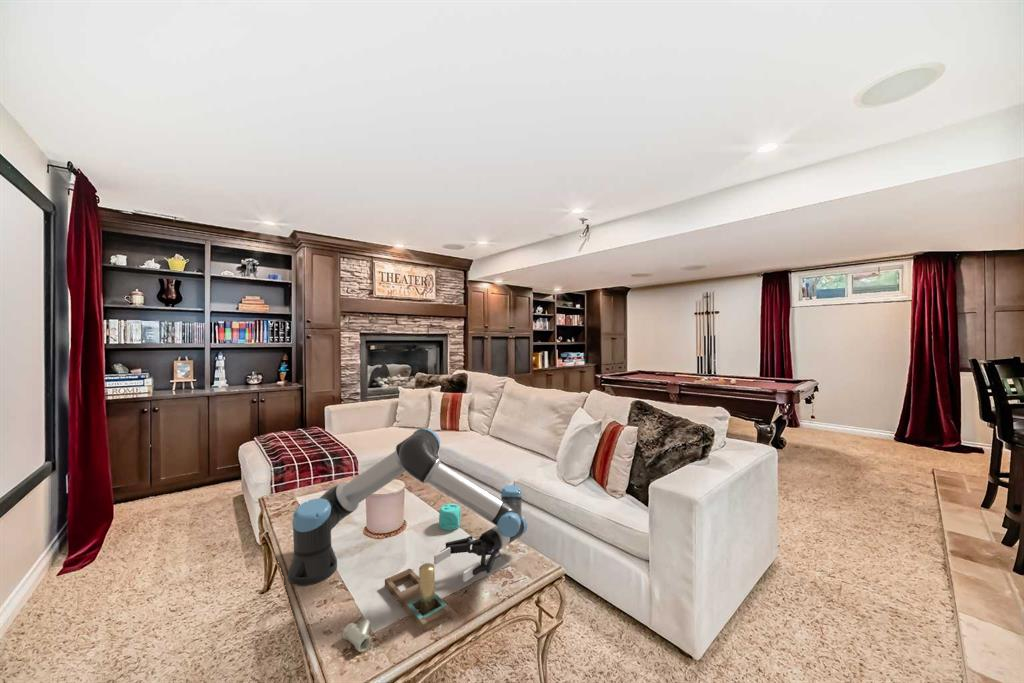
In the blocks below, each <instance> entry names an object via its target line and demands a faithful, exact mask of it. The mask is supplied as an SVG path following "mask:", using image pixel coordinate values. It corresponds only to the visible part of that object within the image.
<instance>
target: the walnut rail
mask: <svg viewBox="0 0 1024 683" xmlns="http://www.w3.org/2000/svg"><path fill="white" fill-rule="evenodd" d="M409 582H411V583H412V584H413V586H410V587H408V588H406V589H403V590H402V591H401V590H400V589H399V588H398V587H400V586H402V585H404V584H407V583H409ZM384 588H385V589H386V590H387V591H388V592H389V594H390V595H391V596H392V597H393V598H394V600H395V601H396V602H397V603H398V604H399V606H400V607H401V608H402V609H403V611H404V612H405V613H406V614H407V615H408V617H409V618H410V619H411V620H412V621H413V622H414V624H415V625H416V626H417V627H418V628H419V630H420V631H421V633H423V634H424V633H426V632H427V631H429V630H431V629H433V628H435V627H437V626H438V625H440V624H442V623H444V622H445V621H447V620H449V619H451V618H452V609H451V608H450V607H449V606H448V605H447V603H446V602H445V601H443V599H442V598H441V597H440V596H439V595H437V593H436V592H435V610H433V611H431V612H429V613H427V614H425V615H423V616H422V615H421V614H420V591H419V575H417V573H416V572H415V571H413V570H412V568H407V569H404V570H403V571H400V572H398V573H396V574H394V575H393V574H392V576H389V577H386V578H385V579H384Z"/></svg>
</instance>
